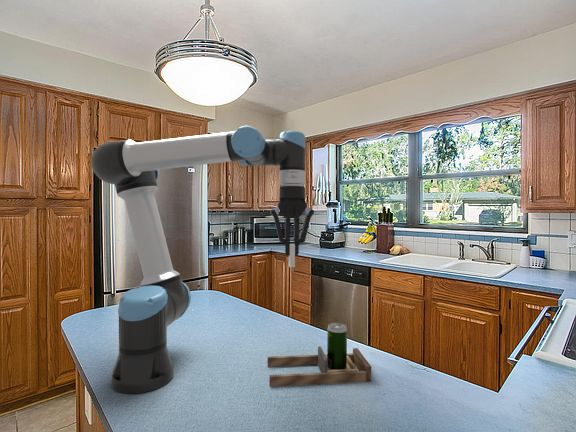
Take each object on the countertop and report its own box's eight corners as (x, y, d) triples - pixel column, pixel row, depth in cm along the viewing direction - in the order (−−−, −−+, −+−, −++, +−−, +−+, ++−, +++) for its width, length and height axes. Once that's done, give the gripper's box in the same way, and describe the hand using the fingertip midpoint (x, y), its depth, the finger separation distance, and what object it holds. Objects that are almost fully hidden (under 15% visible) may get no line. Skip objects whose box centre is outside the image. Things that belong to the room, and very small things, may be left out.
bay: (269, 386, 87) (269, 370, 87) (267, 365, 99) (267, 351, 99) (371, 381, 90) (371, 366, 90) (357, 361, 102) (357, 348, 102)
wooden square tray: (324, 379, 90) (324, 360, 90) (317, 364, 99) (317, 346, 99) (357, 378, 91) (357, 358, 91) (348, 363, 100) (348, 345, 100)
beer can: (336, 375, 91) (336, 330, 91) (323, 367, 96) (323, 324, 96) (350, 369, 94) (351, 326, 94) (337, 362, 99) (337, 321, 99)
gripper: (270, 184, 95) (270, 269, 96) (316, 185, 97) (316, 268, 97) (269, 186, 103) (268, 264, 103) (312, 187, 104) (311, 264, 105)
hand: (291, 266), depth 100 cm, fingers closed
